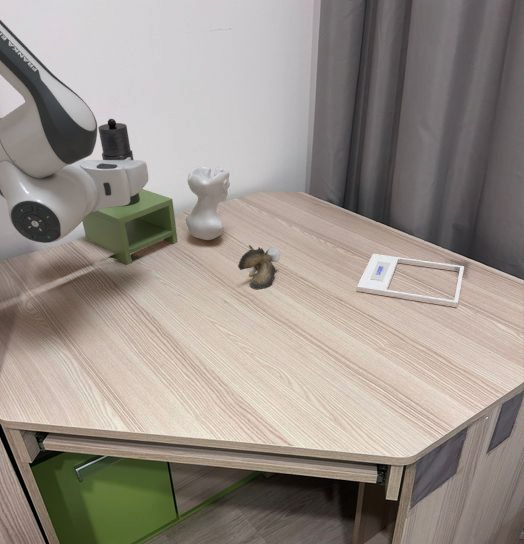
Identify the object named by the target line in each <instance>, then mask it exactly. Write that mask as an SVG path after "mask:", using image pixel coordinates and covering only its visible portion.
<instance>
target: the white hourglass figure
mask: <svg viewBox="0 0 524 544" xmlns="http://www.w3.org/2000/svg"><path fill="white" fill-rule="evenodd" d="M211 173H212V169H211V168H210V167H208V166H196V167H193V168H192V169H191V171H190V172H189V173H188V176H187V185H188V187H189V189H190V191H191V192H192V193H193V194H194V195H196V197H197V201H196V203H195V206H194V207H193V208H192V210H191V212H190V213H189V214H187V215H186V217H185V224H186V226H187V229H188V231H189V233H190V235H191V236H193V237H194V238H197V239H200V240H204V241H212V240H215V239H216V238H218V237H219V236H221V235H222V233H223V232H224V223H223V222H222V220H221V219H220V217H219V216H218V211H217V210H218V205H219V204H220V203H222V202H225V201H226V200H227V198H228V194H229V192H228V190H229V188H230V185H231V183H230V180H229V179H230V173H229V171H227V170H226V171H224V168H223V167H221V166H219V167H216V168H215V169H214V174H213V176H211Z"/></svg>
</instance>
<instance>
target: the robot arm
mask: <svg viewBox="0 0 524 544" xmlns="http://www.w3.org/2000/svg"><path fill="white" fill-rule="evenodd" d="M0 76H1V77H2V78H3V79H4V80H5V81H6V82H7V83H8V84H9V85H11V86H12V88H13V89H14V90H15V91H16V92H17V93H18V94H20V96H22V98H23V100H24V102H23V103H22V104H21V105H19V106H17V107H16V108H15V109H13V110H12V111H10V112H9V113H8V114H6V115H4V116H3V117H0V196H1V197H3V198H4V200H5V201H6V204H7V211H8V216H9V220H10V222H11V225H12V227H13V228H14V229H15V230H16V232H18V233H19V234H20V235H21V236H23V237H24V238H25V239H28V240H30V241H32V242H35V243H36V242H37V243H42V244H50V243H55V242H58V241H60V240H62V239H64V238H65V237H67V236H68V235H70V234H71V233H72V232H73V231H75V230H76V228H77V227H79V225H80V224H81V223H83V222H82V221H83V219H84V217H85V216H87V215H88V214H89V213H90V212H95V211H98V210H101V209H105V208H111V207H118V206H125V205H127V204H129V203H130V197H131V196H134V195H136V194H137V193H139V192H140V191H141V190H142V189H144V188H145V186H146V185H147V184H148V182H149V170H148V165H147V162H146V161H144V160H143V159H134V160H131V157H123V158H122V159H121V160H103V159H85V158H88V157H90V156H92V154H93V153H94V150H95V148H96V143H97V138H98V122H97V119H96V116H95V115H94V112H93V111H92V110H91V107H89V105H88V104H87V103H86V101H84V100H83V98H82V97H81V96H80V95H79V94H77V93H76V92H75V91H74V90H73V89H72V88H70V87H69V86H68V85H66V84H65V83H64V82H63V81H62V80H61V79H59V78H58V77H57V76H56V75H55V74H53V72H52V71H51V70H50V69H49V68H47V66H46V65H45V64H44V63H43V62H42V61H41V60H40V59H39V58H38V56H36V55H35V54H34V52H32V50H31V49H29V48H28V47H27V46H26V44H25V43H24V42H23V41H22V40H21V39H19V37H17V35H16V34H15V33H13V31H12V30H11V29H10V28H9V27H8V26H7V25H6V24H5V23H4V22H3V20H2V19H0Z"/></svg>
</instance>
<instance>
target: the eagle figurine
mask: <svg viewBox="0 0 524 544" xmlns="http://www.w3.org/2000/svg"><path fill="white" fill-rule="evenodd" d="M248 247H249V250H247V251H246V252H245V253H244V254H243V255H241V257H240V260H239V261H238V264H237V268H238V269H239V270H240V271H243V270H247V269H250V271H249V274H248V276H249V277H250V276H252V275H254V274H255V275H254V276H253V278H252V280H251V281H250V282H249V283H248V284H249V286H250V288H252V289H253V290H262V289H263V288H264V289H266V288H267V287H269V286H270V285H271V284H272V282H273V281H274V279H275V278H274V276H275V274H276V272H277V270H276V266H274V264H273V263H277V262H278V263H279V261H280V259H281V258H280V257H281V253H280V252H281V251H280V250H279V248H277V247H275V246H270V247H269V248H268V249H267V250H266V251H265V250H264V249H263V248H262V247H259V246H258V247H257V249H254V248H253V246H252V245H251V244H248Z"/></svg>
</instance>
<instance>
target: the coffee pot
mask: <svg viewBox="0 0 524 544" xmlns="http://www.w3.org/2000/svg"><path fill="white" fill-rule="evenodd" d="M97 130H98V133H99V140H100V144H101V149H102V150H101V151H102V153H101V158H102V160H121V159H122V158H123V157H131V160H135V159H134V154H133V150H131V144H130V138H129V133H128V127H127V124H126V123H121V122H120V123H119V122H117V121H116V120H115V119H114V118H109V119H108V120H107V123H105V124H101V125H99V126H97ZM139 201H140V197H139V193H137V194H136V195H134V196H131V197H130V203H129V204H127V205H125V206H129V205H133V204H136V203H138V202H139Z"/></svg>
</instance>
